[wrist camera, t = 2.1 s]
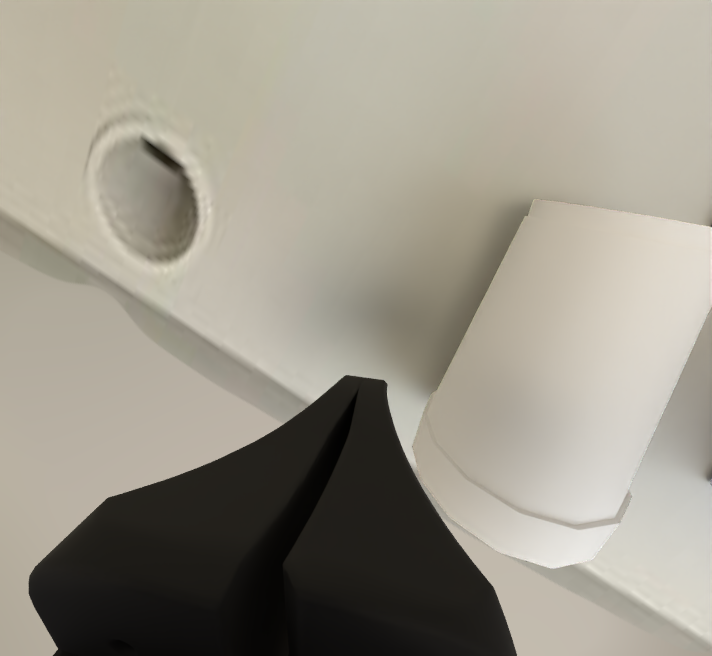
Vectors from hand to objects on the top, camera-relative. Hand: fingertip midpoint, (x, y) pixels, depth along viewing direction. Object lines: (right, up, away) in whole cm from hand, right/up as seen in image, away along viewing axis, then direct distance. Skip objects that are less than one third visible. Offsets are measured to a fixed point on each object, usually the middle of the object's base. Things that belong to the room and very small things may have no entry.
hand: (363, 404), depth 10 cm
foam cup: (+10, +7, +2) cm, 12 cm away
